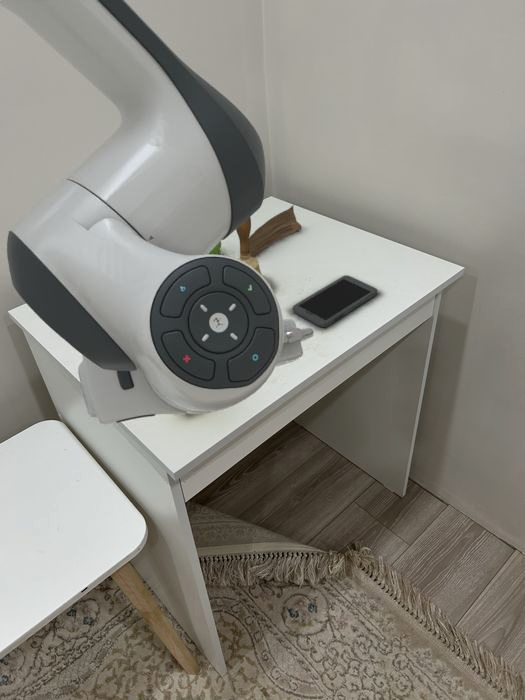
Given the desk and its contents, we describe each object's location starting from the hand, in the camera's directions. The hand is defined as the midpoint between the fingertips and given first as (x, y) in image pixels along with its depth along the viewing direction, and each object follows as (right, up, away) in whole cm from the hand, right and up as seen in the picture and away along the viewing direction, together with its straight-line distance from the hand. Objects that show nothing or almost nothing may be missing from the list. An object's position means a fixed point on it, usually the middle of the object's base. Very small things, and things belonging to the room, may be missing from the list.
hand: (190, 373), depth 57 cm
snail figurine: (-3, +20, +49) cm, 53 cm away
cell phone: (+20, +10, +34) cm, 41 cm away
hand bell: (+5, +13, +39) cm, 41 cm away
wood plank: (+10, +24, +52) cm, 58 cm away
